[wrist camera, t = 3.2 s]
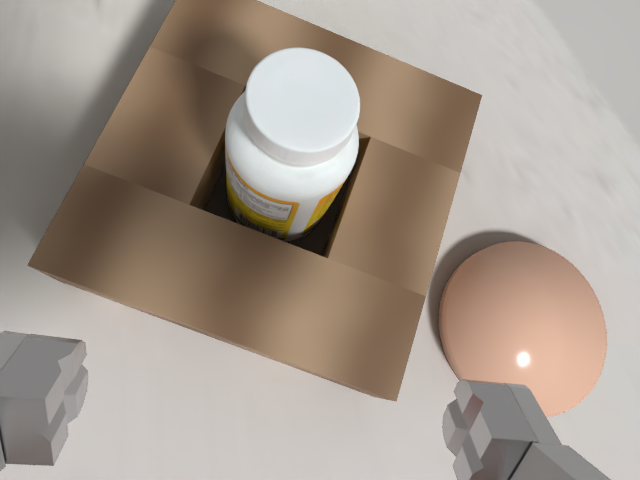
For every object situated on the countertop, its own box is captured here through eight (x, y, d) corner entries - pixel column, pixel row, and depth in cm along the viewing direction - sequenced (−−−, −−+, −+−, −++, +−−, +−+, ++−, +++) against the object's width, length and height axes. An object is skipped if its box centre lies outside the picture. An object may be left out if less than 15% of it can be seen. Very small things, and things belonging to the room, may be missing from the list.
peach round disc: (418, 380, 24) (426, 380, 23) (461, 222, 27) (469, 216, 26) (578, 440, 25) (592, 443, 24) (604, 279, 27) (617, 276, 26)
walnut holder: (58, 280, 22) (27, 265, 19) (196, 21, 27) (191, -28, 24) (373, 396, 23) (396, 401, 20) (452, 127, 28) (482, 95, 25)
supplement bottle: (240, 254, 24) (242, 185, 15) (216, 158, 25) (205, 39, 16) (339, 231, 25) (398, 154, 16) (313, 141, 26) (354, 21, 17)
